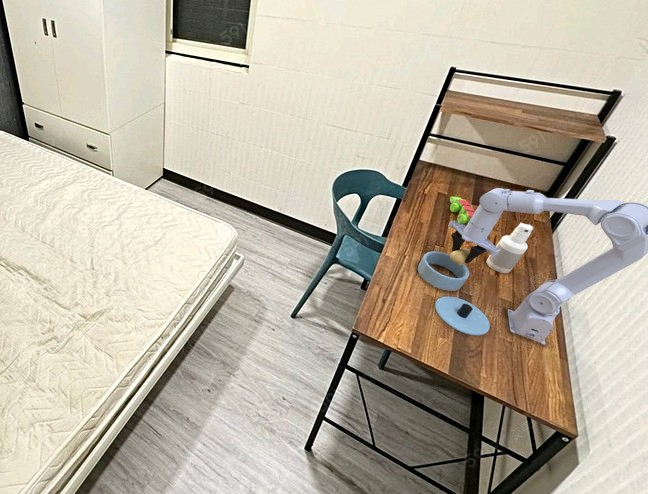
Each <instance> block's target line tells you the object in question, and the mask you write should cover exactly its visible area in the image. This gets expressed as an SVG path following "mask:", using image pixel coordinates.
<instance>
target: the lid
mask: <svg viewBox="0 0 648 494" xmlns="http://www.w3.org/2000/svg"><path fill="white" fill-rule="evenodd" d="M434 308H435V311H436V313H437V315H438V316H439V318H440V319H441V320H442V322H444V323H446V325H448V326H449V327H450V328H452V329H454V330H456V331H458V332H460V333H462V334H465V335H469V336H475V337H476V336H479V337H480V336H483V335H485V334H487V333H488V332H489V330H490V328H491V325H490V321H489V319H488V317H487V316H486V314H485V313H484V312H483V311H481V310H480V309H479V308H478V307H477V306H475V305H474V304H472V303H470V302H469V301H467V300H465V299H462V298H459V297H455V296H441V297H439V298H438V299H437V300H436V301H435V303H434Z"/></svg>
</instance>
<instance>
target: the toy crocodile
mask: <svg viewBox="0 0 648 494" xmlns="http://www.w3.org/2000/svg"><path fill="white" fill-rule="evenodd" d="M449 202H450V203H451V204H450V206H449V210H450V212H451V213H458V215H457V218H456V221H457V222H458V223H460V224H463V225H465V224H468V223H469V221H470V219H471V218H472V216H473V214H474V213H475V211H476V210H475V209H474V207H473V205H472V204H471V203H470V202H469V201H468V200H466V199H463V198H462V197H459V196H450V197H449Z"/></svg>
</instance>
